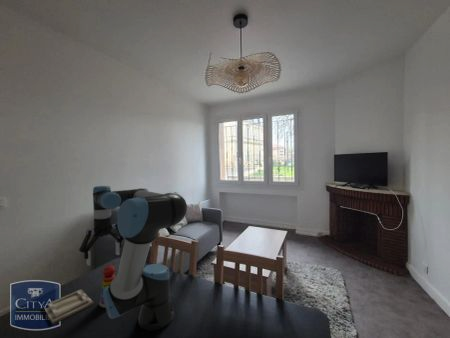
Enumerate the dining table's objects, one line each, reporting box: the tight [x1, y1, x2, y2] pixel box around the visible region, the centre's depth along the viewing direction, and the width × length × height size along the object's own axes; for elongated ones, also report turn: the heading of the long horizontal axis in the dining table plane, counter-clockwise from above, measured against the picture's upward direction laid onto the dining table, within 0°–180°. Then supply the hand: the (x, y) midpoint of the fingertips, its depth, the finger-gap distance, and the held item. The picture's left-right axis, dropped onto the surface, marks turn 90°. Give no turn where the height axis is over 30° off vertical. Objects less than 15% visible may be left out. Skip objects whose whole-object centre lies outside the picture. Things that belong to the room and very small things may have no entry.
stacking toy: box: [98, 264, 116, 309], centre depth 103 cm, size 8×8×19 cm
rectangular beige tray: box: [42, 289, 94, 326], centre depth 101 cm, size 16×16×2 cm
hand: (104, 259), depth 103 cm, fingers open, 13 cm apart
